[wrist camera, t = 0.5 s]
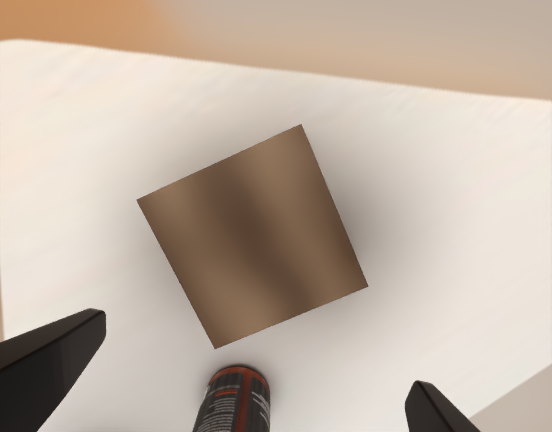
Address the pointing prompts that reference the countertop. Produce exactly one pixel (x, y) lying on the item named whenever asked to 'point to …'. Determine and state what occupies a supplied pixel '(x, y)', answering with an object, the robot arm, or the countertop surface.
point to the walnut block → (255, 238)
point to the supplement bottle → (235, 403)
